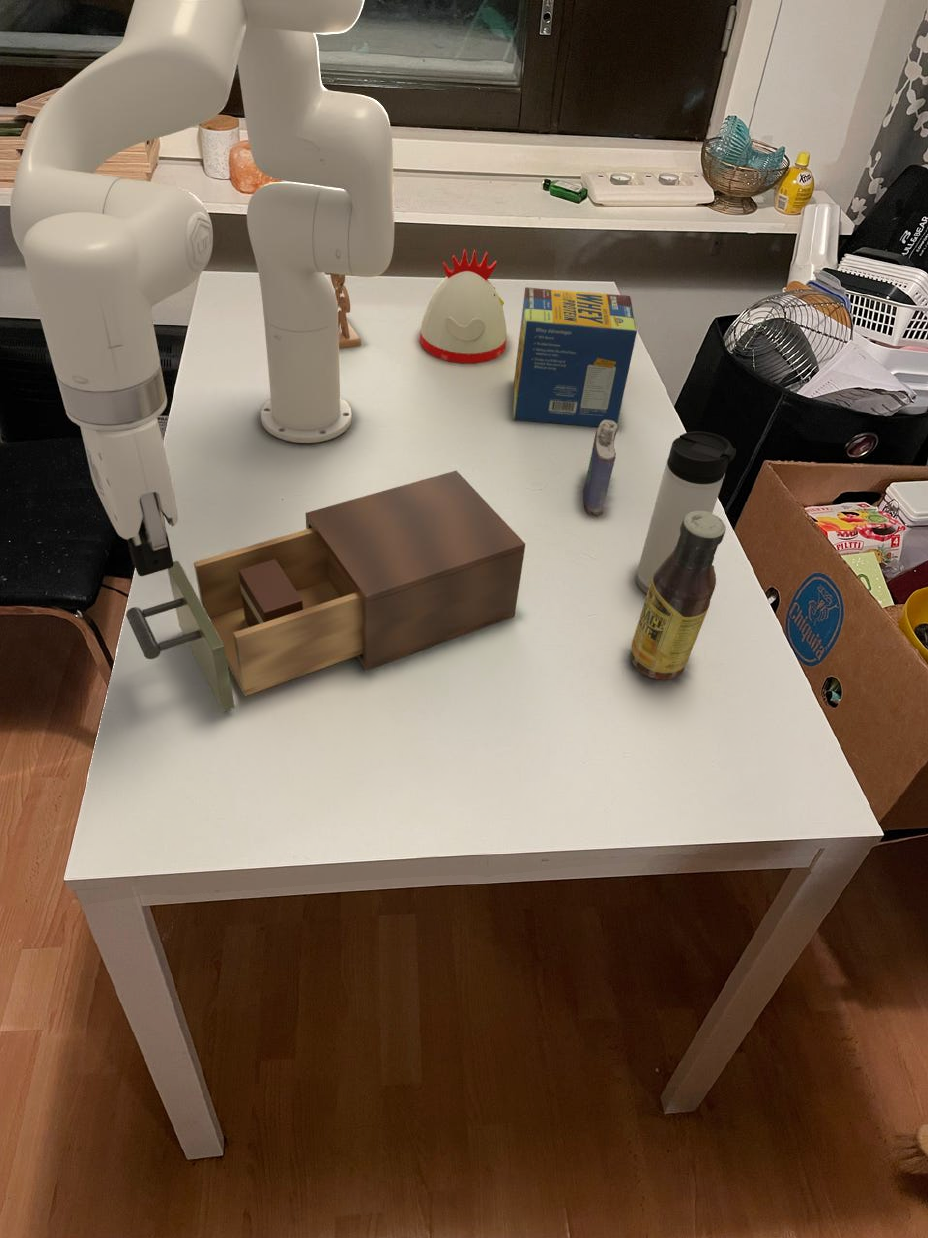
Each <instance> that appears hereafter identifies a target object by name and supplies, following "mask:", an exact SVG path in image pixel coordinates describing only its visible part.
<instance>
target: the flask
mask: <svg viewBox="0 0 928 1238" xmlns="http://www.w3.org/2000/svg"><path fill="white" fill-rule="evenodd" d="M618 428H619V424H618V423H615V422H614V421H612V420H603V421H602V422H601V423H600V424H599V427H597V429H596V430H595V434H594V439H593V443H592V450H591V454H590V457H589V459H590V460H589V464H588V469H587V473H586V478H585V483H584V484H583V488H582V495H583V508H584V509H585V512H586V513H587V514H589V515H590V516H601V514H602V513H603V512H604V510H605V504H606V500H607V496H608V495H607V494H608V490H609V486H610V482H611V478H612V473H613V469H614V465H615V461H616V458H617V457H616V455H617V452H616V449H615V440H616V435H617V432H618V430H619V429H618Z"/></svg>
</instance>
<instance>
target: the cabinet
mask: <svg viewBox="0 0 928 1238" xmlns="http://www.w3.org/2000/svg"><path fill="white" fill-rule="evenodd" d="M305 528H306V529H309V528H313V529H314V531H315V532H316V534H317V535H318V536H319V538H320V539H321V540H322V542H323V543H324V545H325V546H326V547H327V549H328V550H329V552H330V553H331V554H332V556H333V557H334V559H335V560H336V561H337V563H338V564H339V566H340V567H341V568H342V570H343V571H344V573H345V574H346V575H347V577H348V578H349V580H350V581H351V582H352V584H353V585H354V587H355V588H356V589H357V591H358V592H359V594H360V595H361V596H362V610H363V654H361V655H358V656H356V657H357V659H358V660H359V662H360V664H361V665H362V666H363V668H364V669H365V671H369V670H372V669H374V668H377V667H381V666H382V665H386V664H388V663H391V662H393V661H396V660H399V659H402V658H405V657H407V656H410V655H412V654H413V655H414V654H416V653H418V652H421V651H424V650H426V649H429V648H432V647H434V646H437V645H439V644H442V643H446V642H448V641H451V640H454V639H456V638H458V637H461V636H464V635H468V634H470V633H472V632H476V631H478V630H481V629H483V628H487V627H490V626H492V625H494V624H497V623H500V622H503V621H505V620H508V619H511V618H513V617H515V616H516V611H517V603H518V598H519V597H518V596H519V590H520V585H521V583H520V582H521V578H522V577H521V576H522V570H523V563H524V556H525V551H526V550H525V549H526V543H525V542H524V541H523V540H522V539H521V537H519V535H518V534H517V533H516V532H515V531H514V530H513V529H512V528H511V526H509V524H507V522H506V521H505V520H504V519H503V518H502V517H501V516H500V515H499V514H498V513H497V512H496V510H494V509H493V507H491V505H489V504H488V501H486V500H485V499H484V498H483V497H482V495H480V493H478V492H477V490H476V489H475V488H473V486H472V485H471V484H470V483H469V482H468V481H467V480H466V479H465V478H464V477H463V475H462V474H460V472H459V471H458V470H453V471H449V472H445V473H442V474H438V475H434V476H431V477H428V478H424V479H420V480H417V481H414V482H409V483H407V484H403V485H400V486H399V485H398V486H395V487H393V488H389V489H385V490H382V491H378V492H375V493H370V494H367V495H363V496H361V497H357V498H354V499H350V500H346V501H342V502H339V503H335V504H332V505H328V506H325V507H321V508H318V509H314V510H311V511H307V512H305ZM306 529H305V530H306Z"/></svg>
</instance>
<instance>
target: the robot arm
mask: <svg viewBox="0 0 928 1238" xmlns="http://www.w3.org/2000/svg"><path fill="white" fill-rule="evenodd" d="M364 4H365V0H134V2H133V5H132V8H131V10H130V11H131V12H130V14H129V17H128V21H127V24H126V28H125V32H124V36H123V38H122V40H121V43H120V44H118V46H116V47H114V48H113V49H112V50H110V51H108V52H106V53H105V54H104V55H101V56H100V57H99V58H97V59H96V60H95V61H93V62H92V63H90V64H89V65H88V66H86V67H85V68H84V69H83V70H81V71H80V72H79V73H77V74H76V75H75V76H73V78H71V79H70V80H69V81H68V82H66V83H65V84H64V85H63V86H62V87H60V89H58V90H57V91H56V92H55V93H54V94H53V95H52V96H50V98H49V99H48V100H47V101H46V102H45V104H44V105H42V107H41V108H40V110H39V111H38V114H36V116H35V117H34V120H33V122H32V124H31V126H30V128H29V131H28V134H27V137H26V140H25V144H24V147H23V150H22V153H21V156H20V159H19V163H18V166H17V169H16V173H15V176H14V181H13V187H12V192H11V196H10V206H9V207H10V209H9V213H10V226H11V227H10V228H11V232H12V236H13V239H14V241H15V242H14V243H15V244H16V246H17V248H18V250H19V252H20V253H21V254H22V256H23V259H24V264H25V268H26V272H27V275H28V279H29V283H30V286H31V289H32V293H33V297H34V301H35V304H36V308H37V312H38V316H39V319H40V323H41V326H42V330H43V333H44V337H45V341H46V345H47V348H48V351H49V356H50V359H51V364H52V367H53V370H54V373H55V377H56V381H57V384H58V385H57V386H58V387H59V392H60V395H61V399H62V402H63V407H64V410H65V414H66V416H67V418H68V419H69V420H70V421H71V422H72V423H74V424H76V425H77V426H79V427H80V431H81V436H82V441H83V444H84V449H85V453H86V458H87V459H86V460H87V463H88V468H89V473H90V477H91V481H92V483H93V486H94V489H95V491H96V493H97V495H98V498H99V499H100V502H101V503H102V506H103V508H104V510H105V512H106V514H107V516H108V518H109V520H110V522H111V524H112V526H113V528H114V530H115V532H116V534H117V535H118V536H119V537H121V538H122V539H124V540H126V541H127V546H128V549H129V553H130V558H131V561H132V564H133V566H134V568H135V571H136V573H137V575H138V577H145V576H148V575H152V574H155V573H159V572H162V571H165V570H168V569H169V568H171V567H173V565H174V563H173V562H174V559H173V555H172V548H171V544H170V539H169V535H168V532H167V528H166V522H167V524H168V525H169V526H171V527H175V526H176V524H177V522H178V521H179V514H178V506H177V501H176V496H175V495H176V494H175V490H174V486H173V485H174V484H173V480H172V476H171V471H170V466H169V461H168V457H167V452H166V449H165V441H164V439H163V435H162V432H161V428H160V423H159V419H158V417H160V416H161V415H162V414H163V412H164V411H165V409H166V408H167V405H168V397H167V392H166V386H165V381H164V376H163V370H162V364H161V358H160V353H159V348H158V341H157V336H156V331H155V325H154V320H153V315H152V308H153V307H154V306H156V305H157V304H159V303H161V302H162V301H164V300H166V299H168V298H170V297H172V296H174V295H176V294H178V293H179V292H181V291H183V290H184V289H186V288H188V287H189V286H191V285H192V284H193V283H194V282H195V281H196V280H197V279H198V278H199V277H200V276H201V274H202V273H203V271H204V270H205V268H206V267H207V265H208V263H209V261H210V259H211V256H212V253H213V247H214V233H213V232H214V231H213V223H212V220H211V217H210V214H209V211H208V210H207V208H206V206H205V204H204V203H203V202H202V201H201V200H200V198H199V197H198V196H196V195H195V194H193V193H192V192H191V191H189V190H187V189H185V188H183V187H179V186H177V185H173V184H169V183H165V182H157V181H150V180H143V179H142V180H141V179H134V178H127V177H121V176H113V175H105V174H98V173H96V171H97V170H98V169H99V168H100V167H101V166H102V165H103V164H104V163H105V162H108V160H110V159H111V158H112V157H114V156H115V155H117V154H118V153H121V152H122V151H125V150H127V149H129V148H131V147H134V146H137V145H140V144H142V143H146V142H149V141H152V140H156V139H159V138H163V137H166V136H170V135H173V134H176V133H179V132H183V131H185V130H189V129H191V128H194V127H196V126H199V125H202V124H204V123H206V122H208V121H211V120H212V119H215V117H217V116H218V115H219V114H220V112H222V111H223V110H224V108H225V107H226V106H227V103H228V101H229V98H230V94H231V91H232V90H231V89H232V86H233V82H234V79H235V73H236V71H237V70H238V76H239V84H240V91H241V99H242V106H243V112H244V119H245V127H246V134H247V138H248V144H249V149H250V153H251V157H252V160H253V163H254V165H255V167H256V168H257V170H259V172H261V174H264V175H265V176H267V177H269V178H271V179H275V180H278V181H277V182H269V183H267V184H264V185H262V186H260V187H258V189H257V190H255V191H254V192H253V194H252V196H251V197H250V199H249V201H248V205H247V209H246V226H247V232H248V237H249V242H250V244H251V248H252V252H253V255H254V260H255V265H256V267H257V274H258V278H259V285H260V294H261V301H262V302H261V303H262V314H263V323H264V334H265V346H266V347H265V348H266V357H267V371H268V381H269V392H270V399H268V400H267V401H266V402H265V403H264V404H263V406H262V407H261V410H260V421H261V425H262V426H263V428H264V429H265V430H266V431H267V432H268V433H269V434H270V435H272V436H274V437H276V438H278V439H280V440H282V441H287V442H291V443H297V444H315V443H322V442H326V441H329V440H332V439H335V438H337V437H339V436H341V435H343V433H344V432H346V431H347V430H348V429H349V427H350V426H351V424H352V419H353V414H352V408H351V406H350V404H348V402H347V401H346V400H344V399H343V398H342V397H341V379H340V378H341V376H340V375H341V373H340V348H339V332H338V311H339V307H338V304H337V298H336V295H335V289H334V287H333V284H332V282H331V280H329V278H328V277H327V275H326V274H330V273H333V274H341V275H345V276H349V277H357V278H358V277H359V278H375V277H378V276H381V275H382V274H383V273H385V272H386V271H387V269H388V267H389V266H390V264H391V263H392V262H391V261H392V258H393V254H394V247H395V191H394V188H395V185H394V149H393V147H394V146H393V135H392V134H393V133H392V127H391V123H390V119H389V115H388V113H387V112H386V110H385V108H384V107H383V105H382V104H381V103H380V102H379V101H377V100H376V99H374V98H372V97H370V96H366V95H363V94H358V93H351V92H344V91H343V92H342V91H334V90H329V89H327V88H326V87H324V85H323V83H322V77H321V67H320V56H319V44H318V39H317V36H316V35H332V34H333V35H334V34H343V33H346V32H348V31H349V30H351V28H352V27H353V26H354V25H355V24H356V22H357V21H358V19H359V17H360V15H361V12H362V10H363V8H364ZM341 275H340V276H341ZM165 520H166V521H165Z"/></svg>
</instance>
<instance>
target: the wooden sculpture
mask: <svg viewBox="0 0 928 1238" xmlns="http://www.w3.org/2000/svg"><path fill="white" fill-rule="evenodd" d="M329 276H330V282H331V285H332V287H333V289H334V292H335V295H336V298H337V304H338V332H339V349H346V348H352V347H360V346H361V345H362V340H361V338H360V336H359V335H358V334H357V332H356V331H355V330H354V329H353V327H352V325H351V324H350V323H349V321H348V317H347V314H349V313H351V301H350V296H349V292H348V289H347V287H346V286H345V283H346V275H341V274H333V273H329ZM341 294H343V295H342V296H341ZM339 309H340V310H339Z"/></svg>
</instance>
